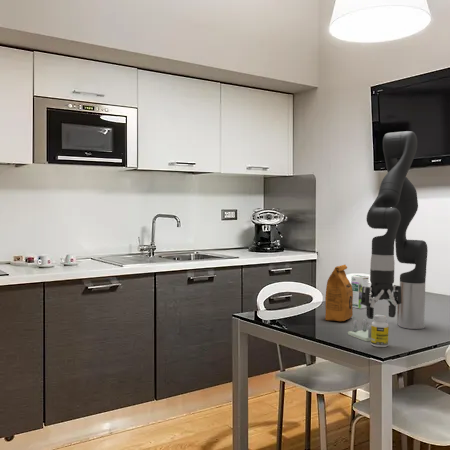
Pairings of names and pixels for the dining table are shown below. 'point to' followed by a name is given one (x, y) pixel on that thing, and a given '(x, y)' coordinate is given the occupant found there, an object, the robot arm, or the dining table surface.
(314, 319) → the dining table surface
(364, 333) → the peg board
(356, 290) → the syrup box
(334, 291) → the coffee package
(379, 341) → the supplement bottle
